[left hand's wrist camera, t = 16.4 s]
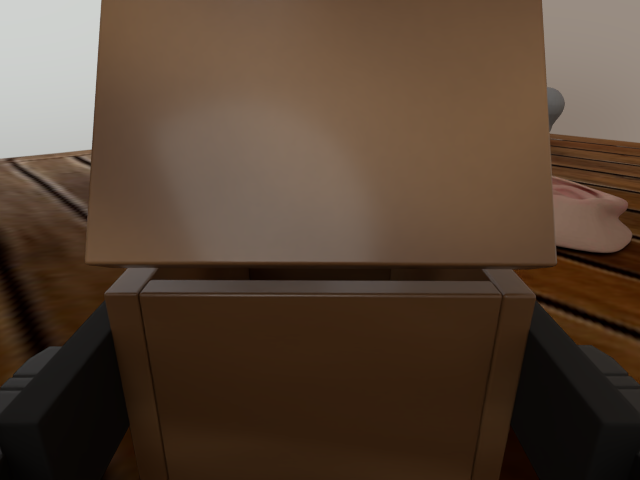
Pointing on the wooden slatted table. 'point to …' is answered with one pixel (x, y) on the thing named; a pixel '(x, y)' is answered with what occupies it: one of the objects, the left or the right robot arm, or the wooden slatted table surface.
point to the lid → (321, 135)
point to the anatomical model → (588, 218)
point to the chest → (319, 371)
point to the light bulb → (554, 105)
